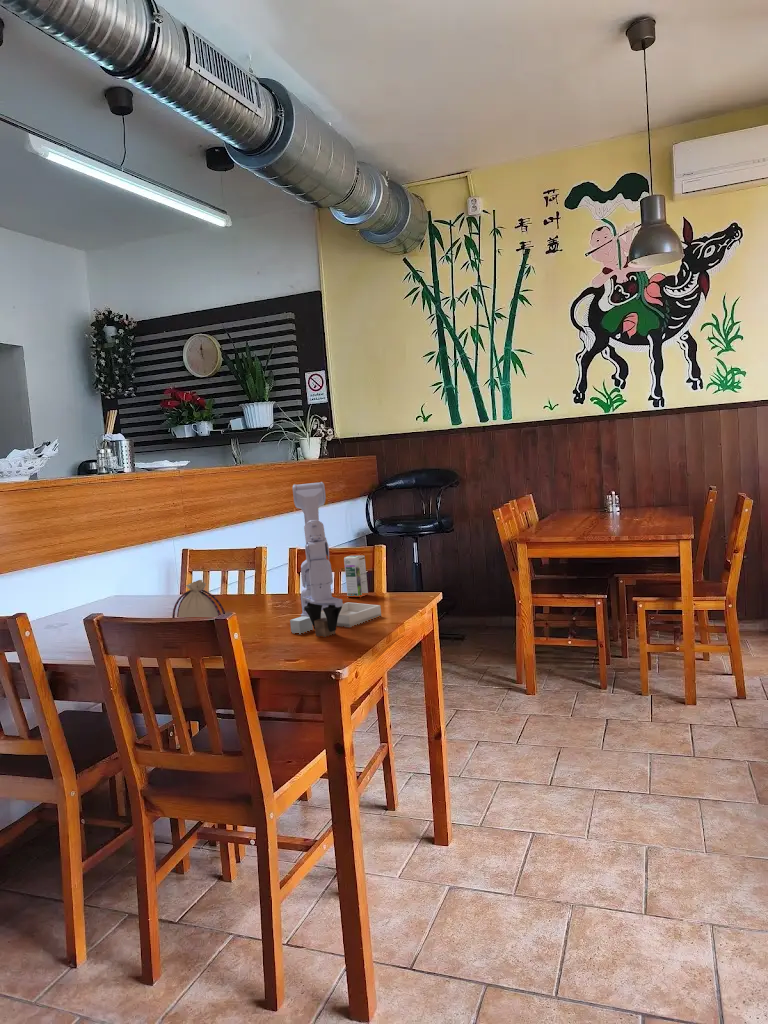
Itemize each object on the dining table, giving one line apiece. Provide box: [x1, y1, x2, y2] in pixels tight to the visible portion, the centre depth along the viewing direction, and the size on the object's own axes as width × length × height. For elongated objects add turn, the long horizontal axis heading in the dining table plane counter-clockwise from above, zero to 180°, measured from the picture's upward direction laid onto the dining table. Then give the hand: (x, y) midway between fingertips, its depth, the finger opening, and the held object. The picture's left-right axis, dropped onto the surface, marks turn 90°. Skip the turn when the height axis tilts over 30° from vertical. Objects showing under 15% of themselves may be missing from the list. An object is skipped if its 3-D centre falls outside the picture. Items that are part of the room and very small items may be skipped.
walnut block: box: [314, 617, 336, 638], centre depth 209 cm, size 4×4×4 cm
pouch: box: [171, 579, 226, 618], centre depth 208 cm, size 25×8×19 cm, turn 73°
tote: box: [321, 602, 382, 628], centre depth 225 cm, size 14×14×4 cm
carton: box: [289, 615, 314, 635], centre depth 216 cm, size 4×5×4 cm
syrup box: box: [343, 555, 369, 596], centre depth 261 cm, size 6×6×14 cm
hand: (325, 629), depth 209 cm, fingers open, 6 cm apart
